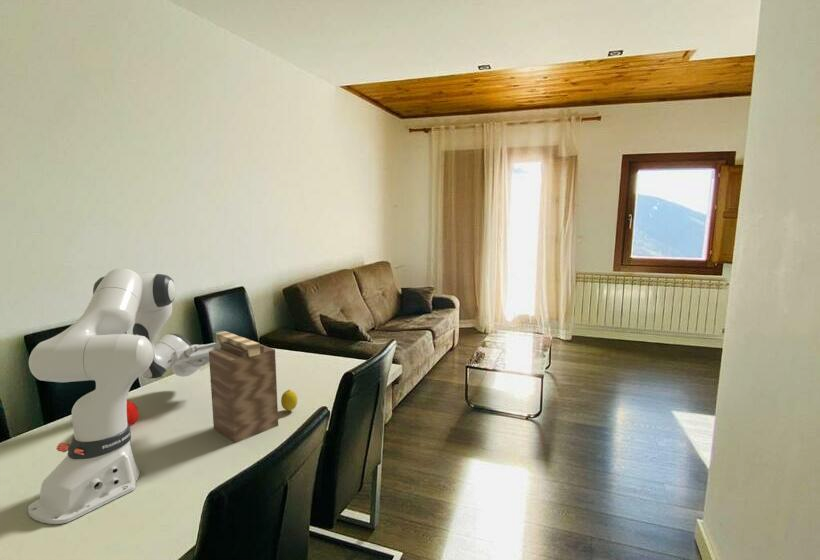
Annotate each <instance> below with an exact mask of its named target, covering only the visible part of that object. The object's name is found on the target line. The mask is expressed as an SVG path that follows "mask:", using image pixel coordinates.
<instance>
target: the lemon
mask: <svg viewBox="0 0 820 560" xmlns="http://www.w3.org/2000/svg"><path fill="white" fill-rule="evenodd" d="M280 403H281V406H282V408H283V409H284V410H286V411H288V412H291V411H293V410H294V409H295V408H296V407H297V404H298V396H297V394H296V392H295V391H294V390H291V389H288V390H285V391H284V392H283V393H282V394H281V399H280Z"/></svg>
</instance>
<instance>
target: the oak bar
mask: <svg viewBox="0 0 820 560" xmlns="http://www.w3.org/2000/svg"><path fill="white" fill-rule="evenodd" d="M212 334H213V335H212V336H213V343H217V344H219V345H220V343H222V342H227V343H229V344H232V345H234V346H237V347H240V348H242V349H245V350H247V356H249V357H251V356H255V355H259V354H260V342H257V341H255V340H252V339H249V338H246V337H243V336H240V335H237V334H235V333H232V332H229V331H226V330H218V331H214V332H213V333H212Z"/></svg>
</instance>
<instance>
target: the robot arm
mask: <svg viewBox="0 0 820 560" xmlns="http://www.w3.org/2000/svg"><path fill="white" fill-rule="evenodd" d="M176 290H177V289H176V285H175V281H174V279H173V278H172V277H170V276H169V275H167V274H161V273H153V272H148V271H147V272H141V273H138V272H136V271H135V270H132V269H130V268H125V267H119V268H114V269H112V270H110V271H109V272H107V274H106V275H104V276H102V277H100V278H98V279H97V280H96V281H95V283H94V284H93V289H92V297H91V298H90V299H91V300H90V301H89V303H88V305H87V307H86V309H85V310H84V312H83V314H82V315H81V316H80V317H79V318H78V319H77V320H76V321H75V322H74V323H73V324H72V325H70V326H69V327H67V328H66V329H65V330H63V331H62V332H60V333H58V334H56V335H54V336H52V337H51V338H48V339H45V340H43V341H40V342H39V343H38V344H37V345H36V346H35V347H33V349H32V350H31V352H30V355H29V358H28V367H29V370H30V373H31V374H32V376H34V378H36V380H39V381H41V382H42V381H44V382H55V383H70V382H71V383H72V382H85V381H86V382H87V381H94V382H95V389H94V390H92V391H90V392H88V393H86V394H85V395H82V396H81V397H80V398H79V399H77V400H76V402H75V403H74V405H73V406H72V408H71V420H72V429H73V437H72V439H71V442H70V444H69V443H65V442H63V441H62V442H59V443H58V444H57V446H56V448H55V449H56V451H57V452H62V453H67V455H66V456H65V457H64V458H63V459H62V461H60V463H59V464H58V465H57V466H56V467H55V468H54V469H53V470H52V471H51V473H50V474H48V476H46V477H45V479H44V480H43V481H42V483H41V484H40V485H41V486H40V491H39V498H38V499H36V500H34V501H33V502H31V503H30V504H29V505H28V510H27V512H28V513H27V514H28V515H29V517H32V518H31V519H33V520H34V521H35V520H36V521H37V522H40V523H44V524H49V525H61V524H66V523H70V522H72V521H73V520H75V519H78V518H79V517H82V516H84V515H86V514H88V513H90V512H92V511H94V510H97V509H98V508H101V507H102V506H104V505H106V504H109V503H110V502H112V501H115V500H116V499H118V498H120V497H122V496H124V495H126V494H129V493H131V492H133V491H134V490H135V489H136V488H137V486H136V482H137V480H138V479H139V478H140V474H141V473H140V469H139V468H138V465H137V464H136V461H135V458H134V454H133V451H132V446H131V439H132V434H131V426H130V425H129V424H128V423H127V400H128V395H129V391H130V390H131V387H132V385H133V384H134V382H135V381H136V380H137V379H138V378H139V377H140V376H143V377H144V378H147V379H158V378H159V379H160V378H162V377H163V376H164V375H165V373H166V372H167V371H168V369H169V368H170V367H172V368H171V369H172V372H173V373H174V374H175V375H176V376H179V377H183V378H184V377H189V376H191V375H194V374H195V373H196V372H197V371H199V370H200V369H202V367H205V366H206V365H208V364H210V363H209V351H213V350H217V349H221V345H219V344H217V343H214V342H211V343H206V344H197V343H196V344H191V342H190V341H189V339H187V338H186V337H185V336H183V335H182V334H180V333H179V334H178V333H166V334H165V335H164V336H163V337H162V338H161V339H159V341H157V343H154V341H155V338H156V337H157V334H158V333H159V331H160V330H161V328H162V327H163V326H164V325H165V324H166V322H167V321H169V319H170V317H171V316H172V313H173V302H174V300H175V298H176V297H175V296H176V294H177V293H176ZM131 328H132V334H130V333H127V332H128V331H129V330H130V329H131Z"/></svg>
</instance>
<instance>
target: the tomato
mask: <svg viewBox="0 0 820 560" xmlns="http://www.w3.org/2000/svg"><path fill="white" fill-rule="evenodd" d="M139 416H140V414H139V409H138V407H137V406H136V404H135V403H134V402H133V401H132V402H131V401H130V400H128V399H127V423H128V424H129V425H130V427H132V426H133V425H136V423H137V422H138V421H139Z"/></svg>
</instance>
